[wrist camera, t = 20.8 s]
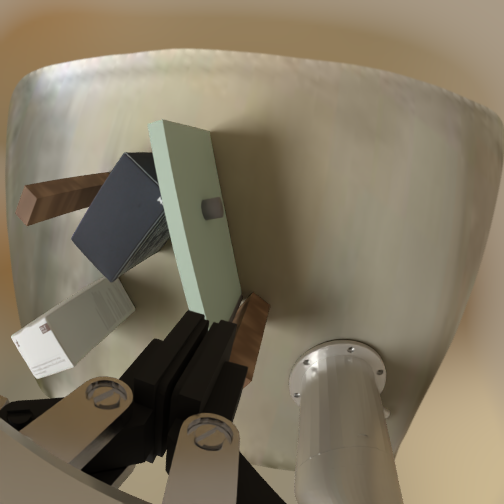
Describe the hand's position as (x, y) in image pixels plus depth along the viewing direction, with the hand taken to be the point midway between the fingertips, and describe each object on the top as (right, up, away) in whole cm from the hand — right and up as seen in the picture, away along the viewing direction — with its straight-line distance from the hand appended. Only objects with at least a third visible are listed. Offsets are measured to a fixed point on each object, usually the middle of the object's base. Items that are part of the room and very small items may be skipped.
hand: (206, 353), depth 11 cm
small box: (-8, +9, +25) cm, 28 cm away
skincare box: (-18, -3, +30) cm, 35 cm away
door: (-1, +7, +24) cm, 25 cm away
